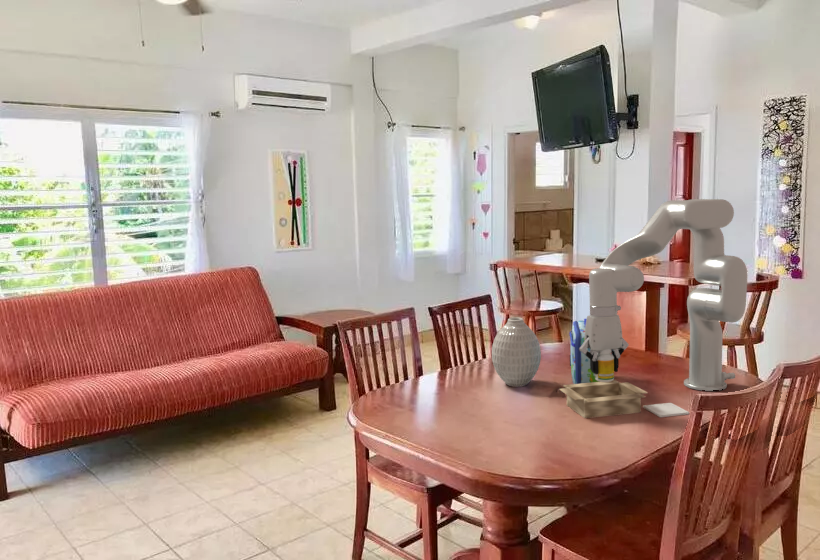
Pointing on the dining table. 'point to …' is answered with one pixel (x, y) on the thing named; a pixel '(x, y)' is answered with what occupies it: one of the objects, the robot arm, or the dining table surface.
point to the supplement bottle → (605, 366)
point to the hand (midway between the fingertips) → (604, 371)
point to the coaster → (665, 409)
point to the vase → (516, 353)
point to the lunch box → (579, 355)
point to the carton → (603, 398)
